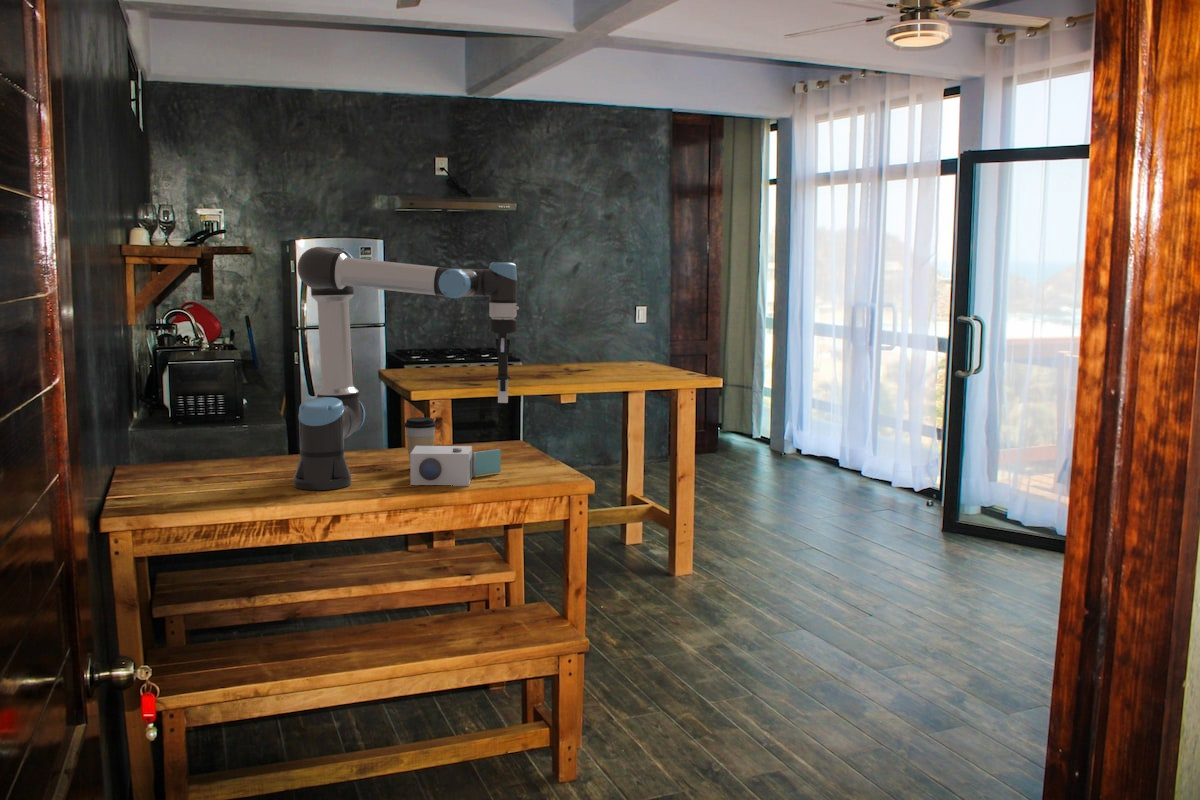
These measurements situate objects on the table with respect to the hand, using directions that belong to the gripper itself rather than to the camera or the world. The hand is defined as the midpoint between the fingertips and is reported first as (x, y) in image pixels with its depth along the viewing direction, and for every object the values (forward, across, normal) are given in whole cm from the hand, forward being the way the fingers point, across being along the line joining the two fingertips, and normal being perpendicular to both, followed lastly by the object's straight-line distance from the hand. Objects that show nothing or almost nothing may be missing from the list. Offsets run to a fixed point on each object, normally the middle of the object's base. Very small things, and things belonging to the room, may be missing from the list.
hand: (502, 402), depth 276 cm
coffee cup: (+23, +16, +25) cm, 37 cm away
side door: (+22, +7, +5) cm, 24 cm away
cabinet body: (+22, -1, +17) cm, 28 cm away
